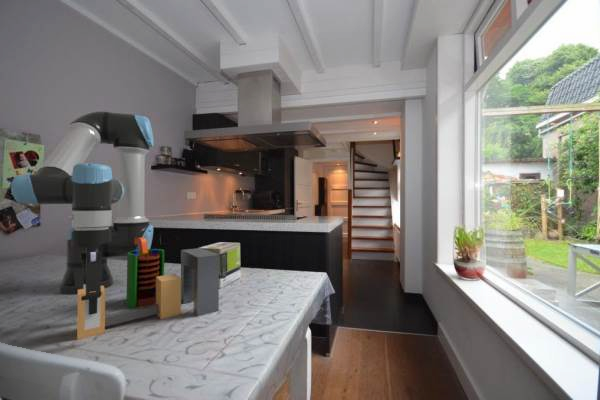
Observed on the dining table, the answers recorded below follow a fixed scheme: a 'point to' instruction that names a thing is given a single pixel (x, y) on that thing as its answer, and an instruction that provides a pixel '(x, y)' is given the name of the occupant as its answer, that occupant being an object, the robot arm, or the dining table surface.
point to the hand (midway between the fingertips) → (91, 317)
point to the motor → (143, 274)
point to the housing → (200, 280)
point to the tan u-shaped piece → (164, 308)
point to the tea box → (227, 261)
